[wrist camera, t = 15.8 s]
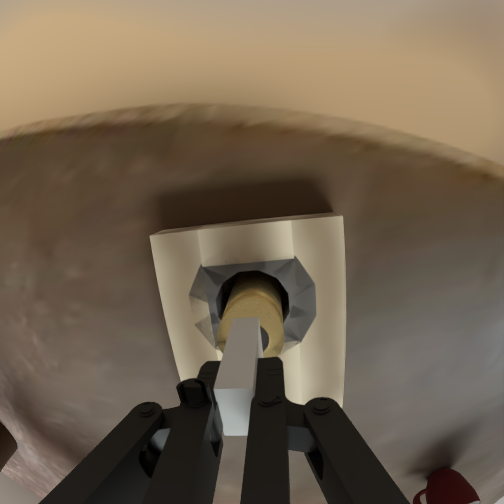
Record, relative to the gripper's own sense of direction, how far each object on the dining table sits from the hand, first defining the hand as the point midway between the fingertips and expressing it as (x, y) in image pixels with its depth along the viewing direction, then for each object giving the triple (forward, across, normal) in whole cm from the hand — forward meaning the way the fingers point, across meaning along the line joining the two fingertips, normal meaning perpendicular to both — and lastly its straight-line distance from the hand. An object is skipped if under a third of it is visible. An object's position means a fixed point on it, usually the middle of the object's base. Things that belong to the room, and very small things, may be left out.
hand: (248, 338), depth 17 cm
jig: (+8, 0, -3) cm, 9 cm away
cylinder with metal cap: (+8, 0, 0) cm, 8 cm away
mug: (+9, +25, -36) cm, 45 cm away
